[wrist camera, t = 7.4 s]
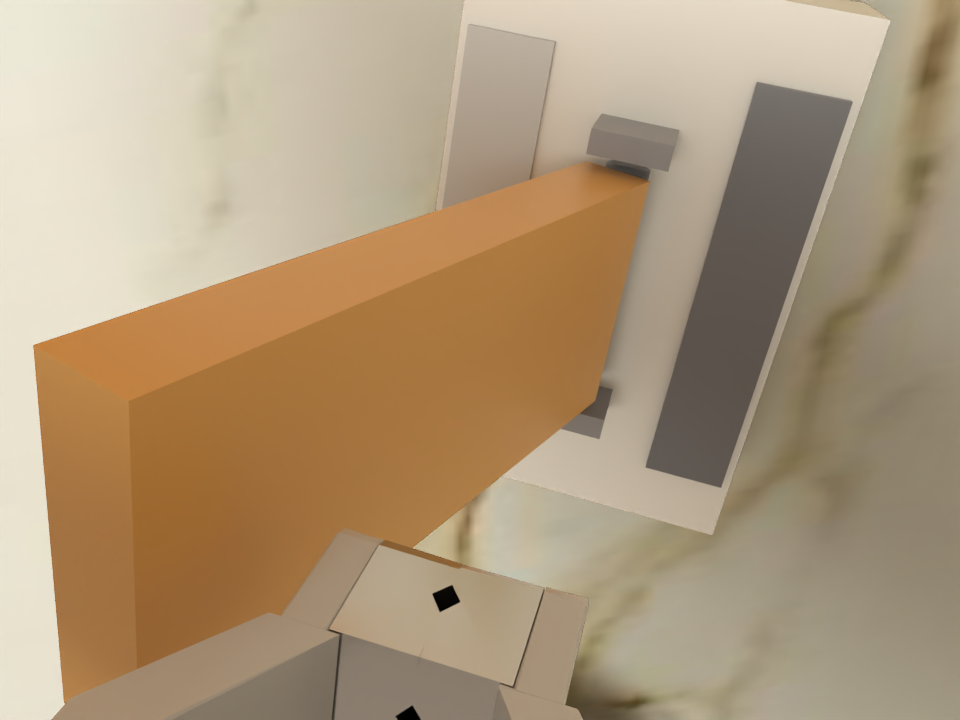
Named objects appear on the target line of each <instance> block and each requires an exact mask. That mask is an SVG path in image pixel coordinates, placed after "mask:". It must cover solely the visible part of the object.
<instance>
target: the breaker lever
mask: <svg viewBox="0 0 960 720" xmlns="http://www.w3.org/2000/svg"><path fill="white" fill-rule="evenodd" d="M649 175H650V170H649V169H648V168H647V167H644V166H639V165H635V164H630V163H625V162H621V161H616V160H609V161H607V162H606V166H605V167H604V166H601V165H598V164H595V163H591V162H588V161H585V162H582V163H579V164H576V165H573V166H570V167H567V168H564V169H561V170H558V171H555V172H552V173H549V174H546V175H543V176H540V177H537V178H534V179H531V180H528V181H525V182H522V183H519V184H516V185H513V186H510V187H507V188H504V189H501V190H498V191H495V192H492V193H489V194H486V195H483V196H480V197H477V198H474V199H471V200H468V201H465V202H462V203H459V204H456V205H453V206H450V207H447V208H444V209H441V210H438V211H435V212H432V213H429V214H426V215H423V216H420V217H417V218H414V219H411V220H408V221H405V222H402V223H399V224H396V225H393V226H390V227H387V228H384V229H381V230H378V231H375V232H372V233H369V234H366V235H363V236H360V237H357V238H354V239H351V240H348V241H345V242H342V243H339V244H336V245H333V246H330V247H327V248H324V249H321V250H318V251H315V252H312V253H309V254H306V255H303V256H300V257H297V258H294V259H291V260H288V261H285V262H282V263H279V264H276V265H273V266H270V267H267V268H264V269H261V270H258V271H255V272H252V273H249V274H246V275H243V276H240V277H237V278H234V279H231V280H228V281H225V282H222V283H219V284H216V285H213V286H210V287H207V288H204V289H201V290H198V291H195V292H192V293H189V294H186V295H183V296H180V297H177V298H174V299H171V300H168V301H165V302H162V303H159V304H156V305H153V306H150V307H147V308H144V309H141V310H138V311H135V312H132V313H129V314H126V315H123V316H120V317H117V318H114V319H111V320H108V321H105V322H102V323H99V324H96V325H93V326H90V327H87V328H84V329H81V330H78V331H75V332H72V333H69V334H66V335H63V336H60V337H57V338H54V339H51V340H48V341H45V342H42V343H39V344H36V345H33V346H34V358H35V370H36V381H37V393H38V404H39V416H40V428H41V439H42V451H43V463H44V474H45V486H46V497H47V509H48V521H49V532H50V544H51V556H52V567H53V579H54V590H55V602H56V614H57V625H58V637H59V649H60V660H61V672H62V683H63V695H64V703H65V704H66V703H67V702H68V701H69V699H70V698H72V697H74V696H76V695H78V694H81V693H83V692H85V691H88V690H90V689H92V688H95V687H97V686H99V685H102V684H104V683H106V682H108V681H111V680H113V679H115V678H118V677H120V676H122V675H125V674H127V673H129V672H132V671H134V670H136V669H139V668H141V667H143V666H145V665H148V664H150V663H152V662H155V661H157V660H159V659H162V658H164V657H166V656H169V655H171V654H173V653H175V652H178V651H180V650H182V649H185V648H187V647H189V646H192V645H194V644H196V643H199V642H201V641H203V640H206V639H208V638H210V637H212V636H215V635H217V634H219V633H222V632H224V631H226V630H229V629H231V628H233V627H236V626H238V625H240V624H243V623H245V622H247V621H249V620H252V619H254V618H256V617H259V616H261V615H263V614H266V613H268V612H269V613H273V614H276V615H279V616H280V615H281V614H282V612H283V611H284V610H285V608H286V607H287V605H288V604H289V602H290V601H291V599H292V598H293V596H294V595H295V593H296V592H297V591H298V589H299V588H300V586H301V585H302V583H303V582H304V580H305V579H306V577H307V576H308V574H309V573H310V571H311V570H312V569H313V567H314V566H315V564H316V563H317V561H318V560H319V558H320V557H321V555H322V554H323V552H324V551H325V550H326V548H327V547H328V545H329V544H330V542H331V541H332V539H333V538H334V536H335V535H336V534H337V533H339V532H340V531H342V530H343V529H345V528H347V529H350V530H354V531H357V532H360V533H363V534H366V535H369V536H373V537H376V538H379V539H381V540H383V541H384V540H388V541H391V542H394V543H397V544H400V545H403V546H407V547H410V548H413V547H414V546H415V545H416V544H418V543H419V542H420V541H421V540H423V539H424V538H425V537H426V536H428V535H429V534H430V533H431V532H433V531H434V530H435V529H436V528H438V527H439V526H440V525H441V524H443V523H444V522H445V521H446V520H448V519H449V518H450V517H451V516H453V515H454V514H455V513H456V512H458V511H459V510H460V509H461V508H463V507H464V506H465V505H466V504H468V503H469V502H470V501H471V500H472V499H474V498H475V497H476V496H477V495H479V494H480V493H481V492H482V491H484V490H485V489H486V488H487V487H489V486H490V485H491V484H492V483H494V482H495V481H496V480H497V479H499V478H500V477H501V476H502V475H504V474H505V473H506V472H507V471H509V470H510V469H511V468H512V467H514V466H515V465H516V464H517V463H519V462H520V461H521V460H522V459H524V458H525V457H526V456H527V455H529V454H530V453H531V452H532V451H534V450H535V449H536V448H537V447H539V446H540V445H541V444H542V443H543V442H545V441H546V440H547V439H548V438H550V437H551V436H552V435H553V434H555V433H556V432H557V431H558V430H560V429H561V428H562V427H563V426H565V425H566V424H567V423H568V422H570V421H571V420H572V419H573V418H575V417H576V416H577V415H578V414H580V413H581V412H582V411H583V410H585V409H586V408H587V407H588V406H590V405H591V404H592V403H593V402H595V400H596V396H597V392H598V388H599V384H600V380H601V376H602V372H603V368H604V364H605V360H606V356H607V352H608V348H609V344H610V340H611V336H612V332H613V328H614V324H615V320H616V316H617V312H618V308H619V304H620V300H621V296H622V292H623V288H624V284H625V280H626V276H627V272H628V268H629V264H630V260H631V256H632V252H633V247H634V243H635V239H636V235H637V231H638V227H639V223H640V219H641V215H642V211H643V207H644V203H645V199H646V195H647V191H648V187H649V183H650V181H648V179H649Z"/></svg>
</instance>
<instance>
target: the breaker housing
mask: <svg viewBox="0 0 960 720" xmlns="http://www.w3.org/2000/svg"><path fill="white" fill-rule="evenodd" d="M890 22H891V20H890V19H888V18H887V17H885V16H884V15H882V14H881V13H879V12H878V11H876V10H875V9H873V8H872V7H870V6H869V5H867V4H866V3H862V2H856V1H851V0H464V4H463V12H462V19H461V26H460V34H459V41H458V48H457V56H456V63H455V70H454V77H453V85H452V92H451V99H450V107H449V114H448V121H447V129H446V136H445V143H444V151H443V158H442V165H441V172H440V180H439V187H438V194H437V202H436V209H435V211H438V210H441V209H444V208H447V207H450V206H453V205H456V204H459V203H462V202H465V201H468V200H471V199H474V198H477V197H480V196H483V195H486V194H489V193H492V192H495V191H498V190H501V189H504V188H507V187H510V186H513V185H516V184H519V183H522V182H525V181H528V180H531V179H534V178H537V177H540V176H543V175H546V174H549V173H552V172H555V171H558V170H561V169H564V168H567V167H570V166H573V165H576V164H579V163H582V162H585V161H588V162H591V163H595V164H598V165H601V166H604V167H605V166H606V162H607V161H609V160H616V161H621V162H625V163H630V164H635V165H639V166H644V167H647V168H648V169H649V170H650V175H649V179H648V181H650V183H649V187H648V191H647V195H646V199H645V203H644V207H643V211H642V215H641V219H640V223H639V227H638V231H637V235H636V239H635V243H634V247H633V252H632V256H631V260H630V264H629V268H628V272H627V276H626V280H625V284H624V288H623V292H622V296H621V300H620V304H619V308H618V312H617V316H616V320H615V324H614V328H613V332H612V336H611V340H610V344H609V348H608V352H607V356H606V360H605V364H604V368H603V372H602V376H601V380H600V384H599V388H598V392H597V396H596V400H595V402H593V403H592V404H591V405H590V406H588V407H587V408H586V409H585V410H583V411H582V412H581V413H580V414H578V415H577V416H576V417H575V418H573V419H572V420H571V421H570V422H568V423H567V424H566V425H565V426H563V427H562V428H561V429H560V430H558V431H557V432H556V433H555V434H553V435H552V436H551V437H550V438H548V439H547V440H546V441H545V442H543V443H542V444H541V445H540V446H539V447H537V448H536V449H535V450H534V451H532V452H531V453H530V454H529V455H527V456H526V457H525V458H524V459H522V460H521V461H520V462H519V463H517V464H516V465H515V466H514V467H512V468H511V469H510V470H509V471H507V472H506V473H505V474H504V475H502V477H506V478H509V479H513V480H516V481H520V482H524V483H527V484H531V485H534V486H538V487H541V488H545V489H549V490H552V491H556V492H559V493H563V494H566V495H570V496H574V497H577V498H581V499H584V500H588V501H591V502H595V503H599V504H602V505H606V506H609V507H613V508H616V509H620V510H623V511H627V512H631V513H634V514H638V515H641V516H645V517H648V518H652V519H656V520H659V521H663V522H666V523H670V524H673V525H677V526H681V527H684V528H688V529H691V530H695V531H698V532H702V533H705V534H709V535H713V532H714V529H715V526H716V523H717V521H718V518H719V515H720V512H721V509H722V506H723V503H724V500H725V498H726V495H727V492H728V489H729V486H730V483H731V480H732V477H733V474H734V472H735V469H736V466H737V463H738V460H739V457H740V454H741V451H742V449H743V446H744V443H745V440H746V437H747V434H748V431H749V428H750V425H751V423H752V420H753V417H754V414H755V411H756V408H757V405H758V402H759V400H760V397H761V394H762V391H763V388H764V385H765V382H766V379H767V376H768V374H769V371H770V368H771V365H772V362H773V359H774V356H775V353H776V351H777V348H778V345H779V342H780V339H781V336H782V333H783V330H784V327H785V325H786V322H787V319H788V316H789V313H790V310H791V307H792V304H793V302H794V299H795V296H796V293H797V290H798V287H799V284H800V281H801V278H802V276H803V273H804V270H805V267H806V264H807V261H808V258H809V255H810V252H811V250H812V247H813V244H814V241H815V238H816V235H817V232H818V229H819V227H820V224H821V221H822V218H823V215H824V212H825V209H826V206H827V203H828V201H829V198H830V195H831V192H832V189H833V186H834V183H835V180H836V178H837V175H838V172H839V169H840V166H841V163H842V160H843V157H844V154H845V152H846V149H847V146H848V143H849V140H850V137H851V134H852V131H853V129H854V126H855V123H856V120H857V117H858V114H859V111H860V108H861V105H862V103H863V100H864V97H865V94H866V91H867V88H868V85H869V82H870V80H871V77H872V74H873V71H874V68H875V65H876V62H877V59H878V56H879V54H880V51H881V48H882V45H883V42H884V39H885V36H886V33H887V31H888V28H889V25H890Z"/></svg>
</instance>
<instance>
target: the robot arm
mask: <svg viewBox="0 0 960 720" xmlns="http://www.w3.org/2000/svg"><path fill="white" fill-rule="evenodd" d="M588 606H589V603H588V598H584V597H581V596H577V595H573V594H570V593H566V592H562V591H558V590H555V589H551V588H547V587H546V589H545V588H544V587H540V586H537V585H533V584H530V583H526V582H523V581H519V580H516V579H512V578H509V577H505V576H502V575H498V574H495V573H491V572H488V571H484V570H481V569H477V568H474V567H470V566H466V565H463V564H460V563H457V562H454V561H451V560H448V559H444V558H441V557H438V556H435V555H432V554H429V553H425V552H422V551H419V550H416V549H413V548H410V547H407V546H403V545H400V544H397V543H394V542H391V541H388V540H384V541H383V540H381V539H379V538H376V537H373V536H369V535H366V534H363V533H360V532H357V531H354V530H350V529H347V528H345V529H343V530H342V531H340V532H339V533H337V534H336V535H335V536H334V538H333V539H332V541H331V542H330V544H329V545H328V547H327V548H326V550H325V551H324V552H323V554H322V555H321V557H320V558H319V560H318V561H317V563H316V564H315V566H314V567H313V569H312V570H311V571H310V573H309V574H308V576H307V577H306V579H305V580H304V582H303V583H302V585H301V586H300V588H299V589H298V591H297V592H296V593H295V595H294V596H293V598H292V599H291V601H290V602H289V604H288V605H287V607H286V608H285V610H284V611H283V612H282V614H281V615H280V616H279V615H276V614H273V613H269V612H268V613H266V614H263V615H261V616H259V617H256V618H254V619H252V620H249V621H247V622H245V623H243V624H240V625H238V626H236V627H233V628H231V629H229V630H226V631H224V632H222V633H219V634H217V635H215V636H212V637H210V638H208V639H206V640H203V641H201V642H199V643H196V644H194V645H192V646H189V647H187V648H185V649H182V650H180V651H178V652H175V653H173V654H171V655H169V656H166V657H164V658H162V659H159V660H157V661H155V662H152V663H150V664H148V665H145V666H143V667H141V668H139V669H136V670H134V671H132V672H129V673H127V674H125V675H122V676H120V677H118V678H115V679H113V680H111V681H108V682H106V683H104V684H102V685H99V686H97V687H95V688H92V689H90V690H88V691H85V692H83V693H81V694H78V695H76V696H74V697H72V698H70V699H69V701H68V702H67V703H66V704H65V705H64V706H63V707H62V708H61V710H60V711H59V712H58V713H57V714H56V715H55V716H54V718H53V719H52V720H583V718H582V716H581V714H580V712H579V710H578V709H576V708H573V707H570V706H567V705H565V704H566V699H567V695H568V691H569V687H570V683H571V678H572V674H573V670H574V666H575V661H576V657H577V653H578V649H579V644H580V640H581V636H582V632H583V628H584V623H585V619H586V615H587V611H588Z"/></svg>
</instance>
